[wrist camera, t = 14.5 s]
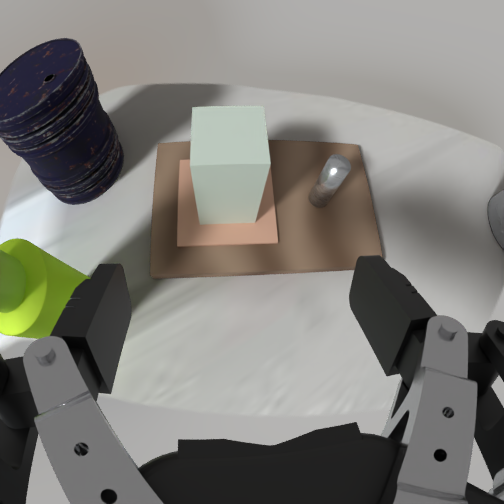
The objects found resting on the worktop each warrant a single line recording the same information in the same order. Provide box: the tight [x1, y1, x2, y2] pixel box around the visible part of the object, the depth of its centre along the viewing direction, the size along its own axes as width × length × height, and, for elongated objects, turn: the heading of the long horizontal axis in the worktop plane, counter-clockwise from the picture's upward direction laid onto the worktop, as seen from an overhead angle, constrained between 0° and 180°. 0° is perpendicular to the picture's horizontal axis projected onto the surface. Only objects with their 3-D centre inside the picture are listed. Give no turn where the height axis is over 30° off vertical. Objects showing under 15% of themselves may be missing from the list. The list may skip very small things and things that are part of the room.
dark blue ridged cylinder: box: [0, 38, 124, 205], centre depth 24 cm, size 10×10×15 cm
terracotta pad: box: [177, 159, 278, 247], centre depth 29 cm, size 9×9×1 cm
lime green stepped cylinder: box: [0, 239, 91, 339], centre depth 17 cm, size 6×7×20 cm
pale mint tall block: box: [190, 106, 271, 225], centre depth 24 cm, size 5×5×10 cm
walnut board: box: [150, 140, 383, 279], centre depth 31 cm, size 22×14×2 cm, turn 93°
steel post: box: [308, 154, 351, 208], centre depth 27 cm, size 2×2×6 cm
